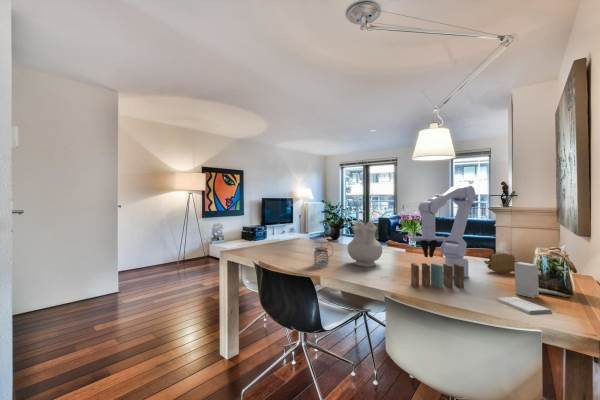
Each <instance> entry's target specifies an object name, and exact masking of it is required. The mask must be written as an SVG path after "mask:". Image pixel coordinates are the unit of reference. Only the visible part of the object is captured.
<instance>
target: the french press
mask: <svg viewBox="0 0 600 400" xmlns="http://www.w3.org/2000/svg"><path fill="white" fill-rule="evenodd" d="M318 223H319V224H323V223H324V222H323V221H322V220H320V221H319V222H318ZM313 242H314V244H315V243H317V244H326V243H327V246H330V247H331V249H332V250H334V247H333V245H332V244H330V243H328V242H329V240H328V239H325V238H322V237H319V238H317V239H315V240H313ZM333 254H334V251H332V253H331V254H330V255H329V251H328V247H326V246H325V247H322V246H318V247H315V248H314V251H313V256H314V257H313V258H314V259H313V260H314V261H313V262H314V263H313V264H312V267H314V268H318V269H319V268H320V269H322V268H323V269H326V268H330V267H329V266H330V264H329V258H330V257H331V256H333Z"/></svg>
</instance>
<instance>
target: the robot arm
mask: <svg viewBox="0 0 600 400" xmlns="http://www.w3.org/2000/svg"><path fill="white" fill-rule="evenodd" d="M475 190H476V189H475V188H474V187H473V185H462V186H460V185H459V186H458V185H457V186H456V185H455V186H451V187H449V188H448V190H447V191H445V192H444V193H441V194H440V193H436V194H434V196H433V197H429V198H428V200H424V201H421V202H420V203H419V205H418V211H419V214H420V218H421V236H420V235H418V236H411V242H418V243H419V244H420V247H421V248H422V252H423V255H424V258H431V259H432V258H433V257H434V253H435V251H436V248H437V246H438V245H439V242H442V244H441V246H440V251H441V253H442V254H443V256H444V264H449V265H451V266H453V278H454V264H460V265H462V266H464V278H470V276H469V260H468V258H467V257H465V256H466V254H467V246H468V243H467V242H466V241H465V240H464V239H463V237H464V234H465V230H466V227H467V223H468V220H469V215H470V212H471V208H472V205H473V204H474V201H475V197H476V191H475ZM449 200H452V201H453V203H454V204H455V205H457V211H456V214H455V217H454V222H453V225H452V228H451V230H450V231H451V232H450V234H449V235H448V236H447V237H446V236H437V235H436V214H437V213H438V212H439V209H440V208H442V207H444V206H445V205H446V204H447V201H449Z"/></svg>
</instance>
